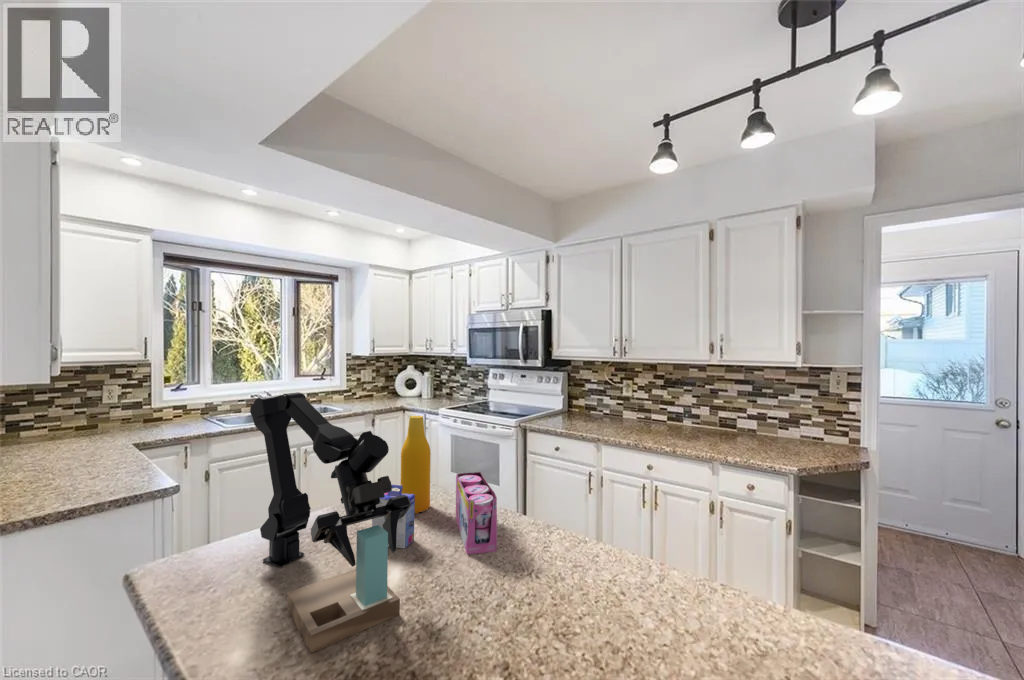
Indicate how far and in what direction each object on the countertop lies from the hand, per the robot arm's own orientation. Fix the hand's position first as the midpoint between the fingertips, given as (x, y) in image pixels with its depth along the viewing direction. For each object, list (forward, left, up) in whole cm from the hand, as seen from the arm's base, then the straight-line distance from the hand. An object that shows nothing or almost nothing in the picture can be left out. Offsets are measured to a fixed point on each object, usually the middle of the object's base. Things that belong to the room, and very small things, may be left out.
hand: (374, 558), depth 81 cm
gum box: (0, +39, -11) cm, 41 cm away
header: (-7, -1, -11) cm, 13 cm away
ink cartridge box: (-17, +25, -11) cm, 32 cm away
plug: (-1, +1, -8) cm, 8 cm away
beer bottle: (-26, +46, -11) cm, 54 cm away
